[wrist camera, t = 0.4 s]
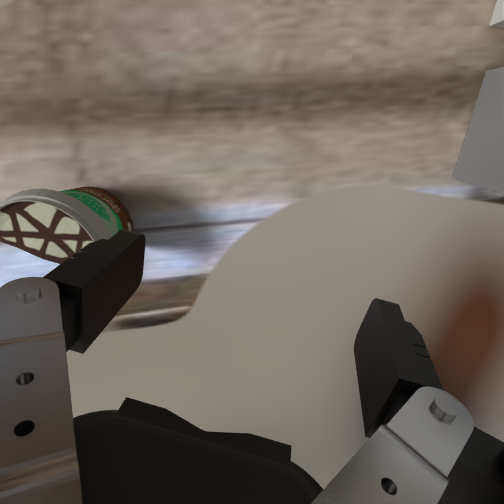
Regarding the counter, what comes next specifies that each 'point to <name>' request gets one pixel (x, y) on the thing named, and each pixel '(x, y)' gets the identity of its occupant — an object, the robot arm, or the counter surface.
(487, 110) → the tall grey pillar
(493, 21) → the white open box
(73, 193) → the food container
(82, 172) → the counter surface
